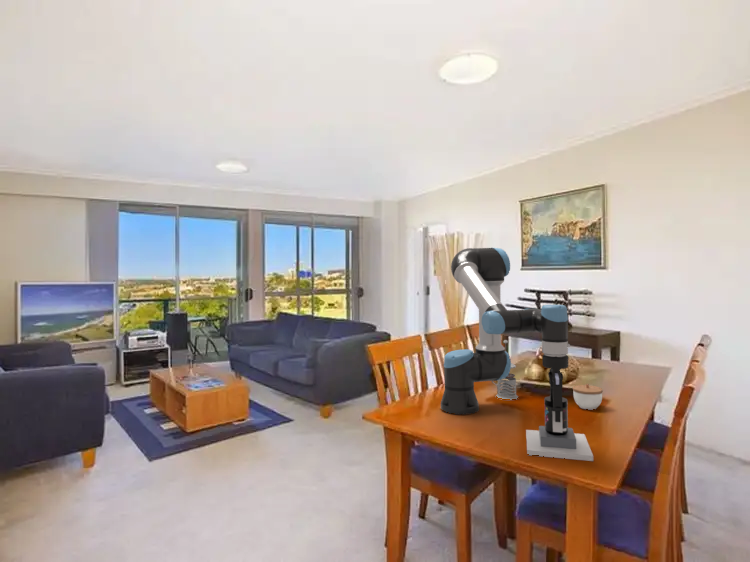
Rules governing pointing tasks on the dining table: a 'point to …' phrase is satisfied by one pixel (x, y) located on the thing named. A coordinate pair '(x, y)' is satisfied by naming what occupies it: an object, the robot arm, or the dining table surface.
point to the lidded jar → (587, 396)
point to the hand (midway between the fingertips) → (556, 427)
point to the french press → (507, 385)
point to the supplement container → (549, 416)
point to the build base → (559, 451)
